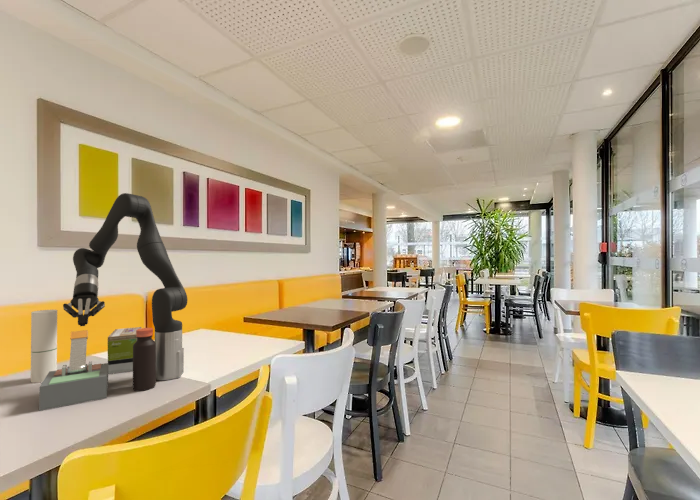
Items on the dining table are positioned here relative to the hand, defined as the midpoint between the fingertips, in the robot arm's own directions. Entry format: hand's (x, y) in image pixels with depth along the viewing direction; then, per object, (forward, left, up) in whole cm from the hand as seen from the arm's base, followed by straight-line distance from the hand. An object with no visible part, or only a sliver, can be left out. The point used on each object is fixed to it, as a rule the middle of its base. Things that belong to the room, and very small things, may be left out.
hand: (82, 324), depth 123 cm
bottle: (-24, +11, -21) cm, 33 cm away
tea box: (-9, -15, -21) cm, 27 cm away
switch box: (-5, +13, -20) cm, 25 cm away
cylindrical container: (+15, -7, -21) cm, 27 cm away
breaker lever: (-5, +14, -13) cm, 20 cm away
